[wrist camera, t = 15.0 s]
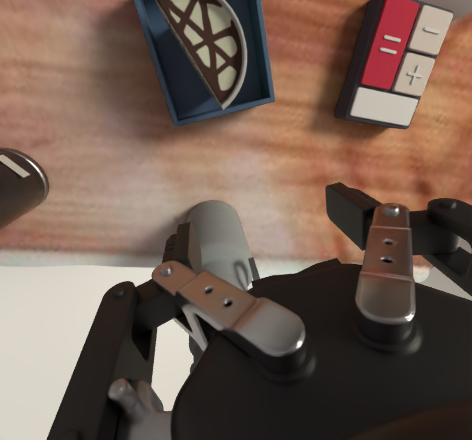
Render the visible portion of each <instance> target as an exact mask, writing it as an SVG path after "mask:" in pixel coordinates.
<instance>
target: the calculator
mask: <svg viewBox="0 0 472 440" xmlns="http://www.w3.org/2000/svg"><path fill="white" fill-rule="evenodd" d="M452 17H453V11H451V10H448V9H444V8H441V7H438V6H435V5H431V4H428V3H425V2H421V1H418V0H370V1H369V3H368V6H367V9H366V13H365V16H364V20H363V23H362V27H361V30H360V34H359V37H358V41H357V44H356V48H355V51H354V55H353V58H352V62H351V65H350V69H349V72H348V76H347V79H346V83H345V85H344V87H343V89H342V91H341V93H340V97H339V100H338V104H337V107H336V111H335V115H334V116H335V117H336V118H340V119H345V120H351V121H356V122H362V123H367V124H372V125H378V126H383V127H389V128H398V129H407V128H408V127H409V125H410V123H411V120H412V118H413V115H414V113H415V110H416V108H417V105H418V103H419V100H420V98H421V95H422V93H423V90H424V88H425V85H426V83H427V80H428V78H429V75H430V73H431V70H432V68H433V65H434V63H435V60H436V57H437V55H438V52H439V50H440V48H441V45H442V43H443V40H444V38H445V35H446V32H447V30H448V27H449V25H450V22H451V20H452Z"/></svg>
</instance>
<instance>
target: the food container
mask: <svg viewBox="0 0 472 440" xmlns="http://www.w3.org/2000/svg"><path fill="white" fill-rule="evenodd" d="M155 1H156V3H157V5H158V7H159V9H160V11H161V13H162V15H163V17H164V19H165V21H166V23H167V25H168V27H169V29H170V30H171V32H172V34H173V35H174V37H175V38H176V40H177V42H178V43H179V45H180V46H181V48H182V50H183V51H184V53H185V54H186V56H187V58H188V59H189V61H190V62H191V64H192V66H193V67H194V69H195V70H196V72H197V74H198V75H199V77H200V78H201V80H202V82H203V83H204V85H205V86H206V88H207V90H208V91H209V93H210V94H211V96H212V98H213V99H214V100H215V101H216V102H217V103H218V104H219V105H220V106H221V107H222V109H223V110H224V109H225V108H226V107H227V106H228V105H229V104H230V103H231V102H232V101H233V100H234V98H235V97H236V95H237V94H238V92H239V90H240V88H241V86H242V83H243V81H244V77H245V73H246V67H247V48H246V41H245V37H244V33H243V30H242V27H241V25H240V22H239V20H238V18H237V16H236V14H235V13H234V11H233V9H232V8H231V7H230V5H229V4H228V3H227V2H226V0H155Z"/></svg>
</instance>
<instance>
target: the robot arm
mask: <svg viewBox="0 0 472 440" xmlns="http://www.w3.org/2000/svg"><path fill="white" fill-rule="evenodd" d="M48 192H49V183H48V179H47V176H46V174H45V172H44V171H43V169H42V168H41V167H40V166H39V164H38V163H37V162H35V161H34V160H33V159H32V158H30V157H29V156H27V155H26V154H24V153H22V152H19V151H17V150H13V149H9V148H0V230H1V229H3V228H4V227H6V226H7V225H8V224H10V223H11V222H13V221H14V220H16V219H17V218H19V217H20V216H22V215H23V214H25V213H26V212H28V211H29V210H30V209H32V208H34V207H36V206H38V205H39V204H40V203H42V202H43V201H44V200H45V199H46V197H47V195H48ZM326 208H327V214H328V217H329V219H330V220H331V221H332V222H333V223H334V224H335V225H336V226H337V227H338V228H339V229H340V230H341V231H342V232H343V233H345V234H346V235H347V236H348V237H349V238H350V239H351V240H352V241H353V242H354V243H355V244H356V245H357V246H358V247H359V248H360V249H361V250H362V251H363V250H365V255H364V260H363V265H358V264H341V263H340V261H339V260H338V259H337V258H336V259H332V260H328V261H325V262H321V263H317V264H315V265H313V266H310V267H308V268H306V269H304V270H302V271H300V272H298V273H295V274H285V275H273V276H269V277H265V278H262V279H258V280H254V281H251V282H252V286H253V288H251V289H249V290H247V291H246V292H245V291H243V290H241V289H239V288H238V287H236V286H234V285H232V284H231V283H229V282H227V281H225V280H223V279H222V278H220V277H218V276H216V275H214V274H213V273H211V272H209V271H207V270H203V271H202V254H201V248H200V244H199V242H198V239H197V236H196V233H195V230H194V227H193V225H192V223H191V221H190V222H187V223H183V224H179V225H178V228H177V234H173V235H171V236H170V237H169V239H168V240H167V242H166V247H165V252H164V255H163V260H162V264H161V265H159V266H158V267H156V268H155V269H154V271H153V272H152V279H151V280H149V281H148V282H145V283H143V284H141V285H139V286H137V287H135V285H134V283H133V282H130V281H126V282H122V283H119V284H117V285H115V286H113V287H112V288H110V289H109V290H108V291H107V292H106V293H105V295H104V296H103V298H102V301H101V304H100V306H99V309H98V311H97V314H96V316H95V319H94V321H93V324H92V326H91V329H90V331H89V334H88V336H87V339H86V342H85V344H84V346H83V349H82V351H81V354H80V357H79V359H78V362H77V364H76V367H75V369H74V372H73V374H72V377H71V379H70V382H69V385H68V387H67V389H66V392H65V394H64V397H63V400H62V402H61V404H60V407H59V410H58V412H57V415H56V417H55V420H54V422H53V425H52V427H51V430H50V432H49V435H48V437H47V440H472V301H471V300H468V299H465V298H462V297H458V296H455V295H453V294H449V293H446V292H443V291H440V290H437V289H434V288H431V287H428V286H425V285H422V284H419V283H416V282H415V281H414V279H413V258H412V255H422V256H423V257H424V258H425V259H426V260H427V261H429V262H430V263H431V264H432V265H433V266H435V267H436V268H437V269H438V270H440V271H441V272H442V273H443V274H445V275H446V276H447V277H449V278H450V279H451V280H452V281H453V282H454V283H456V284H457V285H458V286H459V287H461V288H462V289H463V290H464V291H466V292H467V293H468V294H469V295H471V296H472V254H470V253H469V252H467V251H466V250H464V249H462V248H461V247H459V244H460V239H461V238H463V239H464V240H466V241H467V242H468V243H469V244H470V246H471V248H472V205H469V204H467V203H465V202H463V201H460V200H457V199H451V198H439V199H434V200H431V201H430V202H429V203H428V206H427V210H423V211H410V212H409V209H408V208H407V207H406V206H404V205H401V204H395V203H386V204H382V203H380V202H379V201H377V200H375V199H374V198H372V197H370V196H369V195H367V194H365V193H364V192H362V191H360V190H358V189H354V188H349V187H347V186H345V185H344V184H342V183H340V182H339V183H335V184H331V185H327V186H326ZM171 319H173V320H174V321H175V322H176V323H177V324H178V325H180V327H182V328H183V329H184V330H185V331H186V332H187V333H188V334H189V335H190V336H191V337H192V338H193V339H194V340H195V341H196V342H197V343H198V345H199V346H200V348H201V349H202V350H203V354H202V355H201V357H200V358H199V360H198V362H197V363H196V365H195V366H194V368H193V370H192V371H191V373H190V375H189V376H188V378H187V379H186V381H185V383H184V384H183V386H182V388H181V389H180V391H179V393H178V395H177V397H176V400H175V403H174V406H173V409H172V411H164V410H163V404H162V402H161V400H160V399H159V397H158V396H157V394H156V393H155V392H154V390H153V389H152V387H151V383H152V373H153V364H154V355H155V345H156V335H157V327H158V326H160V325H162V324H164V323H166V322H168V321H169V320H171Z"/></svg>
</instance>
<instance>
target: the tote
mask: <svg viewBox="0 0 472 440" xmlns="http://www.w3.org/2000/svg"><path fill="white" fill-rule="evenodd" d="M133 1H134V4H135V7H136V10H137V13H138V16H139V19H140V22H141V25H142V28H143V31H144V34H145V37H146V41H147V44H148V47H149V50H150V53H151V56H152V59H153V62H154V65H155V68H156V71H157V74H158V77H159V81H160V84H161V87H162V90H163V93H164V96H165V99H166V102H167V105H168V108H169V111H170V114H171V118H172V121H173V124H174V127H177V126H181V125H185V124H189V123H193V122H197V121H201V120H204V119H208V118H212V117H216V116H220V115H224V114H228V113H231V112H235V111H239V110H243V109H247V108H251V107H255V106H259V105H262V104H266V103H270V102H274V101H275V97H274V89H273V82H272V75H271V67H270V60H269V53H268V46H267V38H266V31H265V24H264V16H263V9H262V2H261V0H226V2H227V3H228V4H229V5H230V7H231V8H232V9H233V11H234V13H235V14H236V16H237V18H238V20H239V22H240V25H241V27H242V30H243V33H244V37H245V41H246V48H247V67H246V73H245V77H244V81H243V83H242V86H241V88H240V90H239V92H238V94H237V95H236V97H235V98H234V100H233V101H232V102H231V103H230V104H229V105H228V106H227V107H226V108H225V109H224V110H223V109H222V107H221V106H220V105H219V104H218V103H217V102H216V101H215V100H214V99H213V98H212V96H211V94H210V93H209V91H208V90H207V88H206V86H205V85H204V83H203V82H202V80H201V78H200V77H199V75H198V74H197V72H196V70H195V69H194V67H193V66H192V64H191V62H190V61H189V59H188V58H187V56H186V54H185V53H184V51H183V50H182V48H181V46H180V45H179V43H178V42H177V40H176V38H175V37H174V35H173V34H172V32H171V30H170V29H169V27H168V25H167V23H166V21H165V19H164V17H163V15H162V13H161V11H160V9H159V7H158V5H157V3H156V1H155V0H133Z"/></svg>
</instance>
